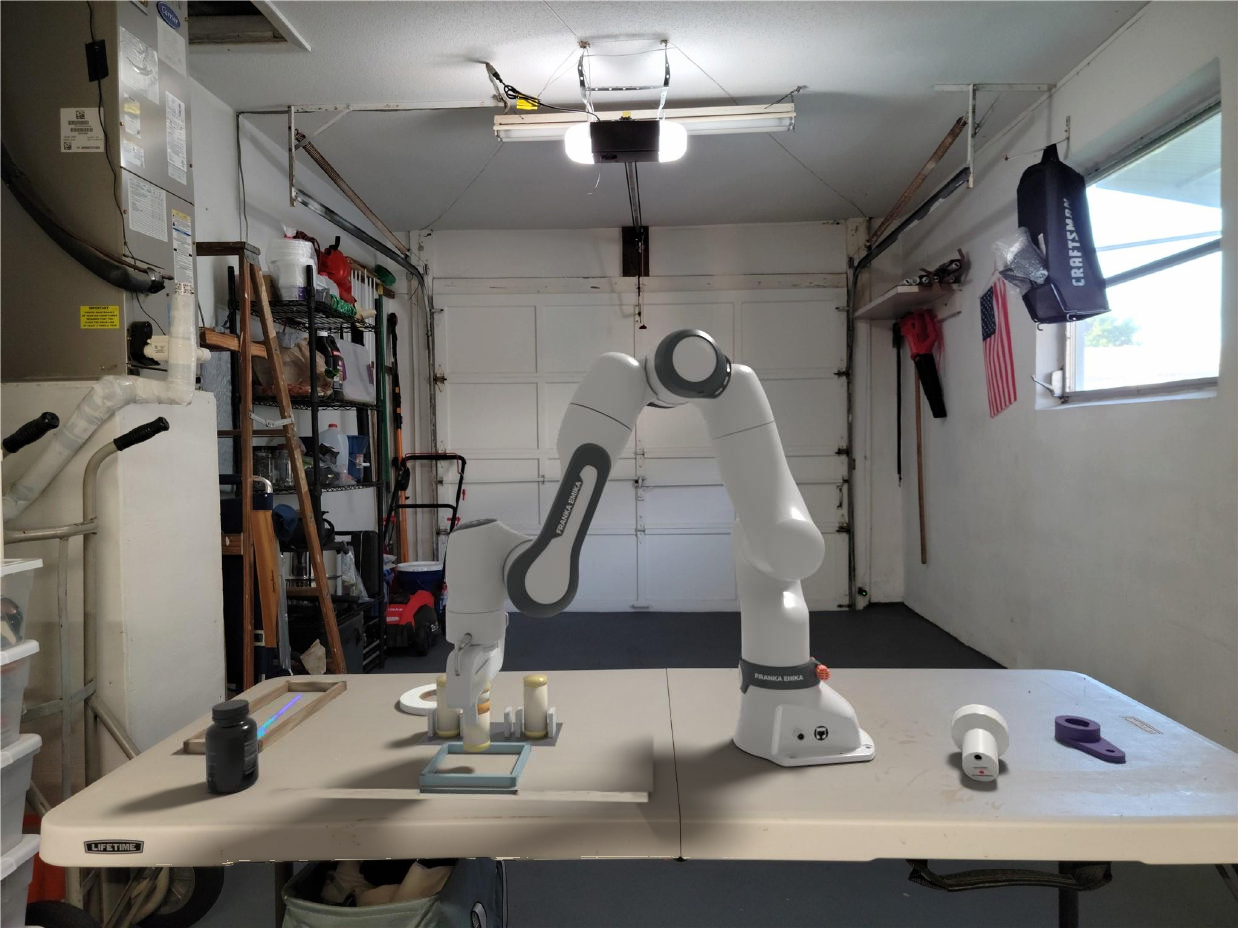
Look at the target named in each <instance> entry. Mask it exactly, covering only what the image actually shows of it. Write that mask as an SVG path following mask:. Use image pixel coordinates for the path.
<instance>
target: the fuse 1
mask: <svg viewBox="0 0 1238 928" xmlns="http://www.w3.org/2000/svg"><path fill="white" fill-rule="evenodd" d="M435 681H436V683H435V684H436V695H435V696H436V701H437V735H438V736H439V737H443V738H448V737H454V736H457V735H459V734H460V712H461V711H462V710H461V709H451V708H448V707H447V705H446V701H445V687H446V673H445V674H441V675H439V676H437V677H436V679H435Z"/></svg>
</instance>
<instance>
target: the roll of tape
mask: <svg viewBox="0 0 1238 928" xmlns="http://www.w3.org/2000/svg"><path fill="white" fill-rule="evenodd" d="M433 696H436V683H431V684H426V685H420V686H418V687H414V688H413V689H410V690H408V691H406V692H404V693H403V694H401V696H400V697H399V708H400V709H401V710H402V711H404V712H406V713H408V714H412V715H420V716H427V717H428V714H427V713H428V712H429V711H430V709H431V708H432V707H433V706H437V700H436V701H429V700H425V699H427V698H430V697H433ZM462 710H463V709H461V711H462Z"/></svg>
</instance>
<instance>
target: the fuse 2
mask: <svg viewBox="0 0 1238 928" xmlns="http://www.w3.org/2000/svg"><path fill="white" fill-rule="evenodd" d="M522 679H523V681H522V682H523V721H524V736H526V737H528V738H541V737H544V736H546V735H547V734H548V676H547V675H546V674H540V673H533V674H528V675H525V676H524V677H523V678H522Z"/></svg>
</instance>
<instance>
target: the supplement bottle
mask: <svg viewBox="0 0 1238 928" xmlns="http://www.w3.org/2000/svg"><path fill="white" fill-rule="evenodd" d="M249 703H250V702H249V700H247V699H242V698H241V699H239V698H237V699H230V700H226V701H221V702H218V703H216V704H215V705H213V706H212V708H211V721H212V722H213V723H211V724H210V725H209V726H207V727H208V729H207V730H206V733H205V753H204V754H205V773H206V774H205V775H206V778H205V779H206V788H207V790H208V792H209V793H211V794H215V795H227V794H234V793H237V792H240V791H243V790H247V789H248V788H250V787H251V786H252V785H255V783H256V782H257V781H258V780H259V777H260V775H259V774H260V771H259V769H260V768H259V753H258V733H257V729H258V723H257V720H255V719H254V718H253V717H251V716H250V715H249V714H250V710H249ZM248 715H249V716H248Z"/></svg>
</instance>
